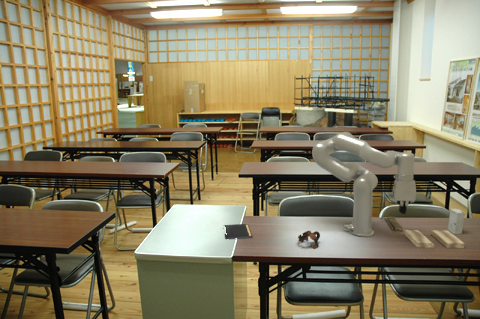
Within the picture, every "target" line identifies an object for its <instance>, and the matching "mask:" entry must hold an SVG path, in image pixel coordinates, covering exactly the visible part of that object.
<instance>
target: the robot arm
mask: <svg viewBox="0 0 480 319" xmlns="http://www.w3.org/2000/svg"><path fill="white" fill-rule="evenodd" d="M339 151H344V152H346V153H350V154H352V155H354V156H358V157H359V158H361V159H362V160H364V161H366V162H367V163H369V164H372V165H374V166H377V167H380V168H382V169H391V168H392V167H394V166H396V174H395V175H393V178H394V182H393V186H392V192H391V193H392V194H391V196H392V198H391V202H392V203H397V204H398V205H399V206H398V211H399V213H400V214H401V215H406V213H407V208H408V206H409V205H410V204H411V203H415V201H416V200H417V187H416V180H415V179H414V171H415V159H416V158H415V156H416V155H415V154H414V153H412V152H406V151H405V152H403V151H401V152H400V151H395V150H387V151H385V152H383V151H381V150H378V149H376V148H373V147H371V146H370V144H369V143H368V142H367V141H365V140H363V139H361V138H357V137H354V135H353V134H352V133H351V132H348V131H344V132H343V131H342V132H340V133H337V134H336V135H334V136H332V137H330V138H328V139H325V140H322V141H320V142H317V143H315V144H314V146H313V147H312V151H311V154H312V159H313V161H314V163H316V164H317V165H318V167H320V168H322V169H323V170H324V171H327V172H328V173H329V174H330V175H333V176H334V177H335V178H337V179H339V180H341V182H344V183H349V182H351V181H353V186H352V189H353V209H352V211H353V212H352V222H350V223H349V224H343V229H346V230H348V232H349V233H350V234H352V235H354V236H356V237H363V238H366V237H367V238H369V237H372V236H374V234H375V231H374V230H373V229H372V218H373V202H374V200H373V199H374V198H373V190H374V189H375V188H376V187H377V186H378V182H379V181H378V180H379V179H378V177H377V176H376V175H375V173H373V172H371V171H370V170H368V169H367V168H365V167H363V166H362V165H360V164H358V163H355V162H346V163H345V162H343V161H341V160H340V159H338V158H335V157H333V156H331V155H332V154H334V153H336V152H339Z"/></svg>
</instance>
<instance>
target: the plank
mask: <svg viewBox="0 0 480 319" xmlns="http://www.w3.org/2000/svg"><path fill="white" fill-rule="evenodd" d="M404 235H405V236H406V237H407V238H408V240H410V241H411V242H412V243H413V245H414V246H415V247H416V248H426V249H427V248H429V249H431V248H434V249H435V244H434V243H433V242H432V241H431V240H429V238H428V237H427V236H425V235H424V234H423V233H422V232H421V231H419V229H418V230H416V229H405V230H404Z"/></svg>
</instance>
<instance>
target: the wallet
mask: <svg viewBox="0 0 480 319" xmlns="http://www.w3.org/2000/svg"><path fill="white" fill-rule="evenodd" d="M223 226H225V227H226V233H227V235H226V234H224V239H225V240H227V239H229V240H242V239H244V240H245V239H253V238H254V236H253V234H252V232H251V229H250V226H249V224H247V223H246V224H245V223H239V224H237V223H235V224H224V225H223ZM235 238H237V239H235Z"/></svg>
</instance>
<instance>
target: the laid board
mask: <svg viewBox="0 0 480 319" xmlns="http://www.w3.org/2000/svg"><path fill="white" fill-rule="evenodd" d="M429 232H430V234H431V236H433V237H434V238H435V239H436V240H437V241H439V242H440V243H441V244H442V245H443V246H444V247H445V248H447V249H465V244H466V243H465V242H464V241H462V240H461V239H460V238H458V237H457V236H456V235H455V234H454V233H452V232H450V231H449V230H448V229H447V230H446V229H445V230H442V229H441V230H437V229H436V230H434V229H433V230H432V229H431V230H429Z"/></svg>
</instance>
